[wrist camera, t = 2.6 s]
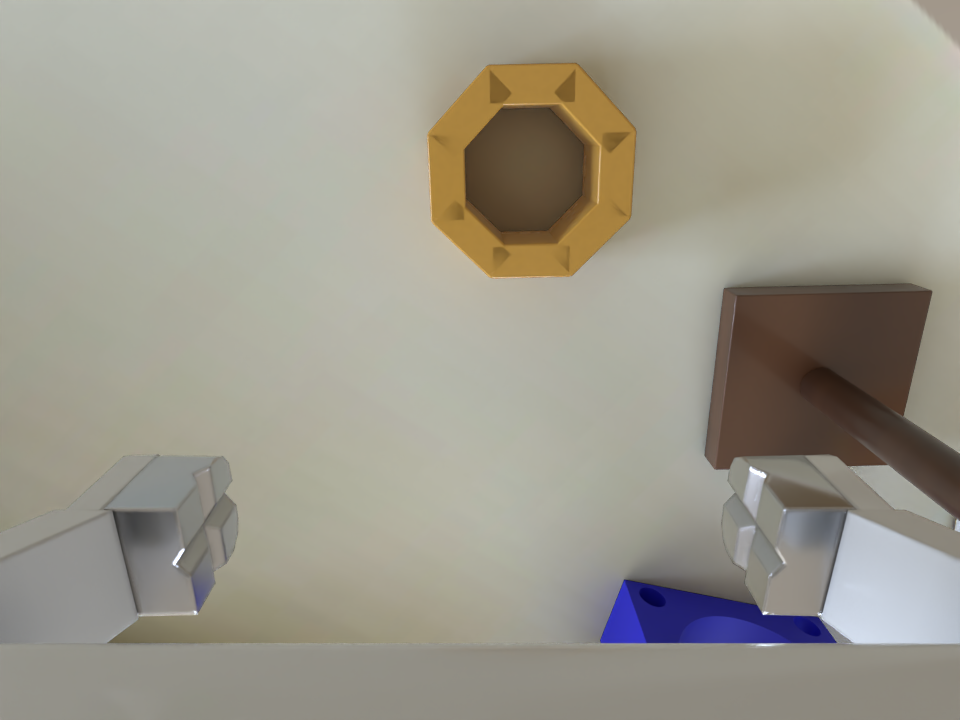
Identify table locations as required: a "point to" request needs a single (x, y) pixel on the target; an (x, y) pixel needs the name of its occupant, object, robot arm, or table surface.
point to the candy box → (957, 525)
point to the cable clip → (701, 620)
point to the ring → (602, 170)
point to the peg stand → (826, 381)
